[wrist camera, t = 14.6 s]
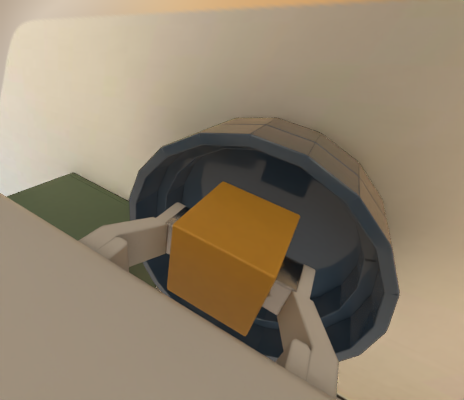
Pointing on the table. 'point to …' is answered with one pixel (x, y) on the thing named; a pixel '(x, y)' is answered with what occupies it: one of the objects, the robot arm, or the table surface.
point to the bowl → (308, 228)
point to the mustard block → (229, 254)
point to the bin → (78, 209)
